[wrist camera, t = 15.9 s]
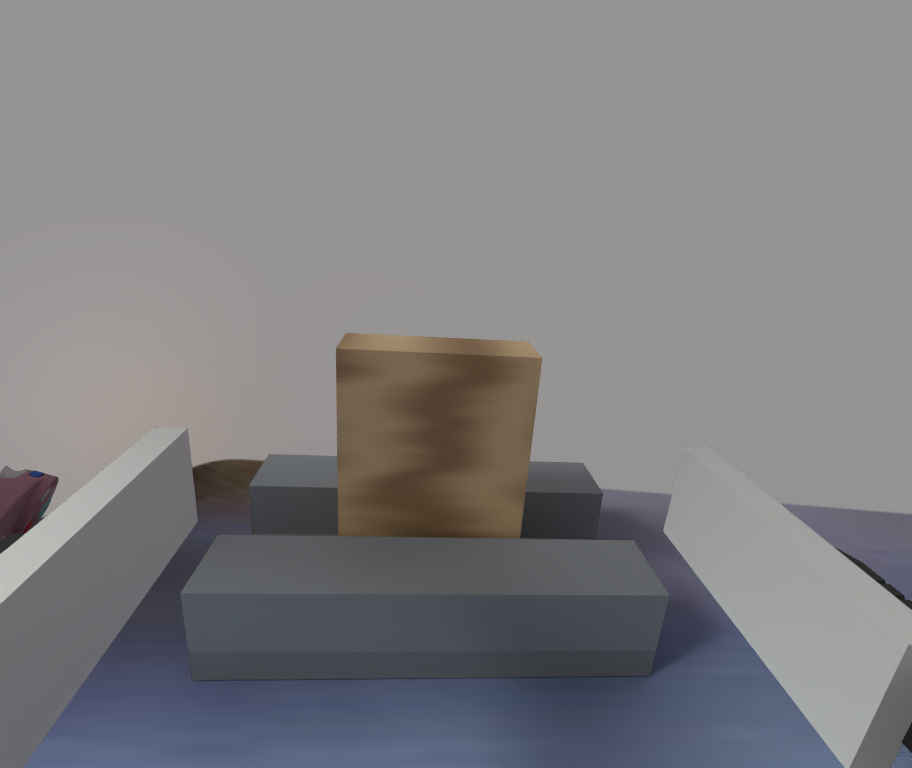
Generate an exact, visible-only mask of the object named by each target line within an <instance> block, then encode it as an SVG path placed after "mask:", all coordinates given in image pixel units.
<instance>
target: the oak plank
mask: <svg viewBox="0 0 912 768" xmlns="http://www.w3.org/2000/svg"><path fill="white" fill-rule="evenodd" d="M541 364H542V357H541V356H540V355H539V354H538V352H537V351H536V350H535V349H534V348H533V347H532V345H531V344H530V343H529V342H524V341H502V340H480V339H460V338H440V337H439V338H438V337H419V336H417V337H416V336H398V335H376V334H357V333H346V334H345V335H344V337H343V339H342V340H341V342H340V343H339V345H338V346H337V348H336V375H337V376H336V378H337V379H336V383H337V466H338V536H360V537H432V538H503V539H520V533H521V525H522V517H523V509H524V501H525V493H526V485H527V477H528V469H529V460H530V453H531V444H532V437H533V428H534V420H535V412H536V404H537V396H538V388H539V379H540V372H541Z"/></svg>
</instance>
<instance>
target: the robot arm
mask: <svg viewBox="0 0 912 768" xmlns="http://www.w3.org/2000/svg"><path fill="white" fill-rule="evenodd" d="M197 522H198V518H197V509H196V499H195V490H194V481H193V472H192V463H191V454H190V445H189V437H188V428H175V427H155V428H154V429H152V430H151V431H150V432H149V433H147V435H145V436H144V437H143V438H141V439H140V440H139V441H138V442H137V443H135V444H134V445H133V446H132V447H130V448H129V449H128V450H127V451H126V452H124V453H123V454H122V455H121V456H119V458H117V459H116V460H115V461H113V462H112V463H111V464H110V465H108V466H107V467H106V468H105V469H104V470H102V471H101V472H100V473H99V474H98V475H96V476H95V477H94V478H93V479H91V480H90V481H89V482H88V483H87V484H85V485H84V486H83V487H82V488H81V489H79V490H78V491H77V492H76V493H74V494H73V495H72V496H71V497H69V498H68V499H67V500H66V501H65V502H63V503H62V504H61V505H60V506H59V507H57V508H56V509H55V510H54V511H52V512H51V513H50V514H49V515H48V516H46V517H45V518H44V519H43V520H41V521H40V522H39V523H38V524H37V525H35V526H34V527H33V528H32V529H31V530H29V531H28V532H27V533H26V534H12V535H10V536H8V537H6V538H4V539H2V540H0V768H23V767H24V766H25V764H26V763H27V761H28V760H29V759H30V757H31V756H32V754H33V753H34V752H35V750H36V749H37V747H38V746H39V745H40V743H41V742H42V740H43V739H44V738H45V736H46V735H47V733H48V732H49V730H50V729H51V728H52V726H53V725H54V723H55V722H56V721H57V719H58V718H59V716H60V715H61V714H62V712H63V711H64V709H65V708H66V707H67V705H68V704H69V702H70V701H71V700H72V698H73V697H74V695H75V694H76V692H77V691H78V690H79V688H80V687H81V685H82V684H83V683H84V681H85V680H86V678H87V677H88V676H89V674H90V673H91V671H92V670H93V669H94V667H95V666H96V664H97V663H98V661H99V660H100V659H101V657H102V656H103V654H104V653H105V652H106V650H107V649H108V647H109V646H110V645H111V643H112V642H113V640H114V639H115V638H116V636H117V635H118V633H119V632H120V631H121V629H122V628H123V626H124V625H125V623H126V622H127V621H128V619H129V618H130V616H131V615H132V614H133V612H134V611H135V609H136V608H137V607H138V605H139V604H140V602H141V601H142V600H143V598H144V597H145V595H146V594H147V592H148V591H149V590H150V588H151V587H152V585H153V584H154V583H155V581H156V580H157V578H158V577H159V576H160V574H161V573H162V571H163V570H164V569H165V567H166V566H167V564H168V563H169V562H170V560H171V559H172V557H173V556H174V554H175V553H176V552H177V550H178V549H179V547H180V546H181V545H182V543H183V542H184V540H185V539H186V538H187V536H188V535H189V533H190V532H191V531H192V529H193V528H194V526H195V525H196V523H197ZM663 532H664V533H665V534H666V535H667V537H668V538H669V539H670V541H671V542H672V543H673V545H674V546H675V547H676V548H677V550H678V551H679V552H680V554H681V555H682V556H683V558H684V559H685V560H686V562H687V563H688V564H689V565H690V567H691V568H692V569H693V571H694V572H695V573H696V575H697V576H698V577H699V578H700V580H701V581H702V582H703V584H704V585H705V586H706V588H707V589H708V590H709V592H710V593H711V594H712V595H713V597H714V598H715V599H716V601H717V602H718V603H719V605H720V606H721V607H722V608H723V610H724V611H725V612H726V614H727V615H728V616H729V618H730V619H731V620H732V622H733V623H734V624H735V625H736V627H737V628H738V629H739V631H740V632H741V633H742V635H743V636H744V637H745V639H746V640H747V641H748V642H749V644H750V645H751V646H752V648H753V649H754V650H755V652H756V653H757V654H758V655H759V657H760V658H761V659H762V661H763V662H764V663H765V665H766V666H767V667H768V669H769V670H770V671H771V672H772V674H773V675H774V676H775V678H776V679H777V680H778V682H779V683H780V684H781V685H782V687H783V688H784V689H785V691H786V692H787V693H788V695H789V696H790V697H791V699H792V700H793V701H794V702H795V704H796V705H797V706H798V708H799V709H800V710H801V712H802V713H803V714H804V715H805V717H806V718H807V719H808V721H809V722H810V723H811V725H812V726H813V727H814V729H815V730H816V731H817V732H818V734H819V735H820V736H821V738H822V739H823V740H824V742H825V743H826V744H827V745H828V747H829V748H830V749H831V751H832V752H833V753H834V755H835V756H836V757H837V759H838V760H839V761H840V762H841V764H842V765H843V766H844V768H891V766H892V764H893V762H894V760H895V758H896V756H897V754H898V753H899V751H900V749H901V747H902V745H903V744H904V745H905V746H906V747H907V748H908V749H909V751H910V752H911V753H912V602H911V601H910V600H905V598H904V595H903V594H901V593H900V592H899V591H897V590H896V589H895V588H894V587H892V586H891V585H890V584H886V583H885V580H884V579H882V578H881V577H880V576H879V575H877V574H876V573H875V572H873V571H872V570H871V569H870V568H868V567H867V566H866V565H865V564H863V563H862V562H860V561H859V560H857V559H855V558H853V557H851V556H850V555H848V554H846V553H844V552H842V551H841V550H839V549H837V548H835V547H833V546H832V545H831V544H829V543H828V542H827V541H826V540H824V539H823V538H822V537H821V536H819V535H818V534H817V533H816V532H814V531H813V530H812V529H811V528H809V527H808V526H807V525H806V524H805V523H803V522H802V521H801V520H800V519H798V518H797V517H796V516H795V515H793V514H792V513H791V512H790V511H788V510H787V509H786V508H785V507H783V506H782V505H781V504H780V503H779V502H777V501H776V500H775V499H773V498H772V497H771V496H770V495H769V494H767V493H766V492H765V491H764V490H762V489H761V488H760V487H759V486H757V485H756V484H755V483H754V482H752V481H751V480H750V479H749V478H748V477H746V476H745V475H744V474H742V473H741V472H740V471H739V470H738V469H736V468H735V467H734V466H733V465H731V464H730V463H729V462H728V461H726V460H725V459H724V458H723V457H722V456H720V455H719V454H718V453H717V452H715V451H714V450H713V449H712V448H710V447H684V449H683V453H682V458H681V461H680V465H679V470H678V474H677V478H676V482H675V485H674V490H673V494H672V498H671V502H670V506H669V510H668V514H667V518H666V522H665V526H664V530H663Z"/></svg>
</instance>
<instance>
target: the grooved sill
mask: <svg viewBox="0 0 912 768" xmlns="http://www.w3.org/2000/svg"><path fill="white" fill-rule="evenodd" d="M249 494H250V507H251V520H252V534H251V535H217V536H216V538H215V540H214V541H213V543H212V544H211V546H210V547H209V549H208V551H207V552H206V554H205V555H204V557H203V558H202V560H201V561H200V563H199V565H198V566H197V568H196V569H195V571H194V572H193V574H192V576H191V577H190V579H189V580H188V582H187V583H186V585H185V586H184V588H183V590H182V591H181V593H180V596H181V604H182V611H183V618H184V626H185V633H186V640H187V648H188V655H189V662H190V670H191V677H192V680H288V679H389V678H490V677H592V676H650V674H651V670H652V666H653V662H654V658H655V654H656V650H657V646H658V642H659V638H660V634H661V630H662V626H663V621H664V617H665V613H666V609H667V605H668V601H669V597H670V595H669V593H668V592H667V590H666V589H665V587H664V586H663V584H662V583H661V581H660V580H659V578H658V577H657V575H656V574H655V572H654V570H653V569H652V567H651V566H650V564H649V563H648V561H647V560H646V558H645V557H644V555H643V554H642V552H641V551H640V549H639V548H638V546H637V545H636V543H635V542H634V540H596V538H595V535H596V529H597V524H598V518H599V513H600V507H601V502H602V496H603V493H602V491H601V490H600V488H599V487H598V485H597V484H596V482H595V481H594V479H593V478H592V476H591V475H590V473H589V472H588V470H587V469H586V467H585V466H584V464H583V463H567V462H566V463H565V462H530V461H529V469H528V477H527V485H526V493H525V501H524V509H523V517H522V525H521V533H520V539H503V538H432V537H360V536H338V466H337V456H310V455H274V454H273V455H272V454H269V455H268V457H267V458H266V460H265V461H264V463H263V465H262V466H261V468H260V469H259V471H258V472H257V474H256V475H255V477H254V479H253V480H252V482H251V483H250V485H249Z"/></svg>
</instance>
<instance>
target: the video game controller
mask: <svg viewBox="0 0 912 768" xmlns="http://www.w3.org/2000/svg"><path fill="white" fill-rule="evenodd" d="M57 483H58V477H56V476H52V475H48V474H44V473H42V472H38V471H31V470H27V469H25V470H22V471H14V470H12V469H10V468H9V467H8V466H5V467H4V468H3V469H2V471H1V473H0V540H2V539H4V538H6V537H8V536H10V535H12V534H26V533H27V532H28V531H29V530H31V529H32V528H33V527H34V526H35V525H36V523H37V522H38V520H39V519H40V518H41V517H42V516H43V514H44V512H45V511H46V509H47V508H48V505H49V503H50V501H51V498H52V495H53V493H54V491H55V489H56V486H57Z"/></svg>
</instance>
